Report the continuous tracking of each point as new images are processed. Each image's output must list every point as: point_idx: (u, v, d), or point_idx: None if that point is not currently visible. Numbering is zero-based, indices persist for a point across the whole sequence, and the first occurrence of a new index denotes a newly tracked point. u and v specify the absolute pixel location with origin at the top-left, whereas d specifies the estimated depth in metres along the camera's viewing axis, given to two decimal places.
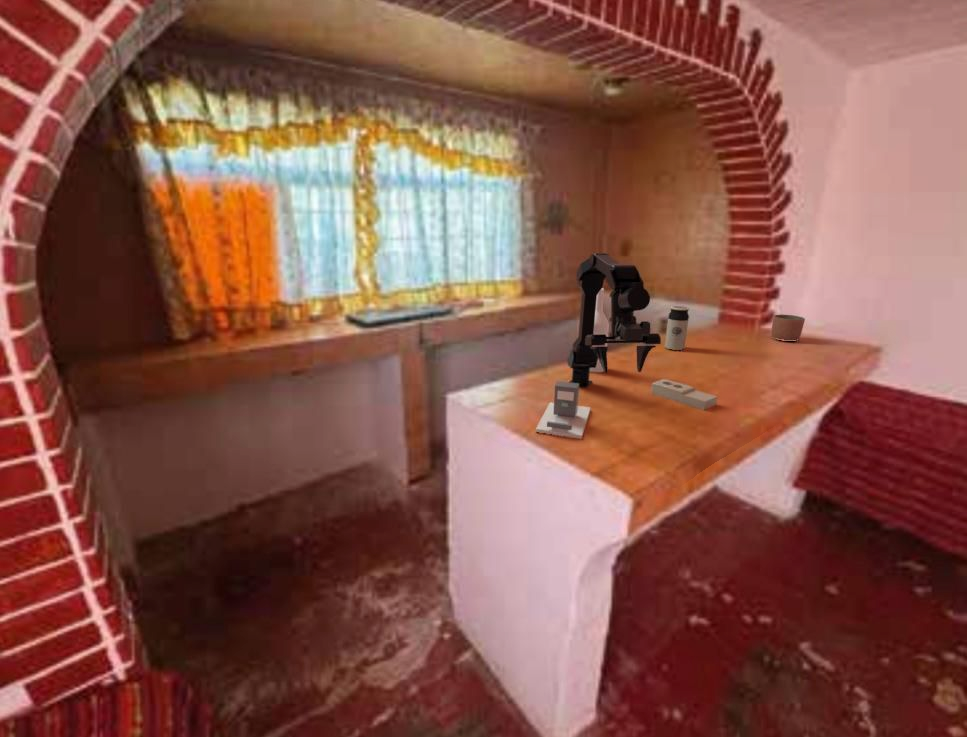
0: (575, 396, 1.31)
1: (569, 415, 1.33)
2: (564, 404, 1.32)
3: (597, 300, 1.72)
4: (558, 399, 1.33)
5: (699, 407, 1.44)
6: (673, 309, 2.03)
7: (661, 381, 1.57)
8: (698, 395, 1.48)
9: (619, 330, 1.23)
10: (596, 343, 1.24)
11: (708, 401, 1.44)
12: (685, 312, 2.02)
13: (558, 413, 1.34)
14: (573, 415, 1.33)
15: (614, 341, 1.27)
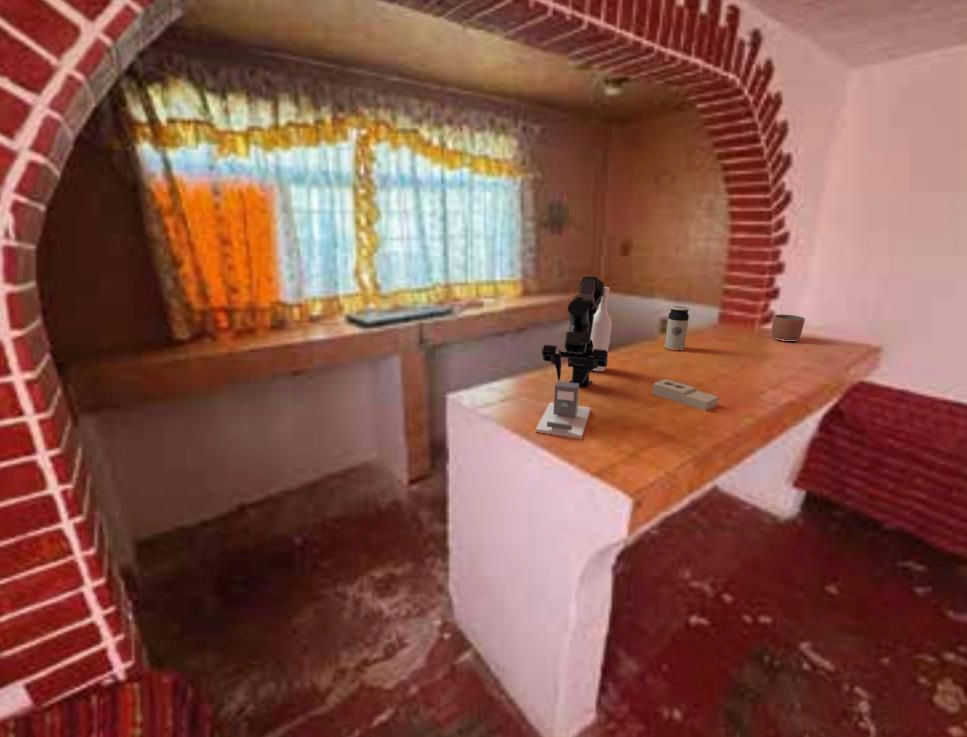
0: (575, 396, 1.31)
1: (569, 415, 1.33)
2: (564, 404, 1.32)
3: (602, 298, 1.73)
4: (558, 399, 1.33)
5: (700, 408, 1.44)
6: (673, 309, 2.03)
7: (662, 381, 1.57)
8: (699, 396, 1.47)
9: None
10: (545, 349, 1.41)
11: (709, 401, 1.44)
12: (685, 312, 2.02)
13: (558, 413, 1.34)
14: (573, 415, 1.33)
15: (566, 354, 1.42)
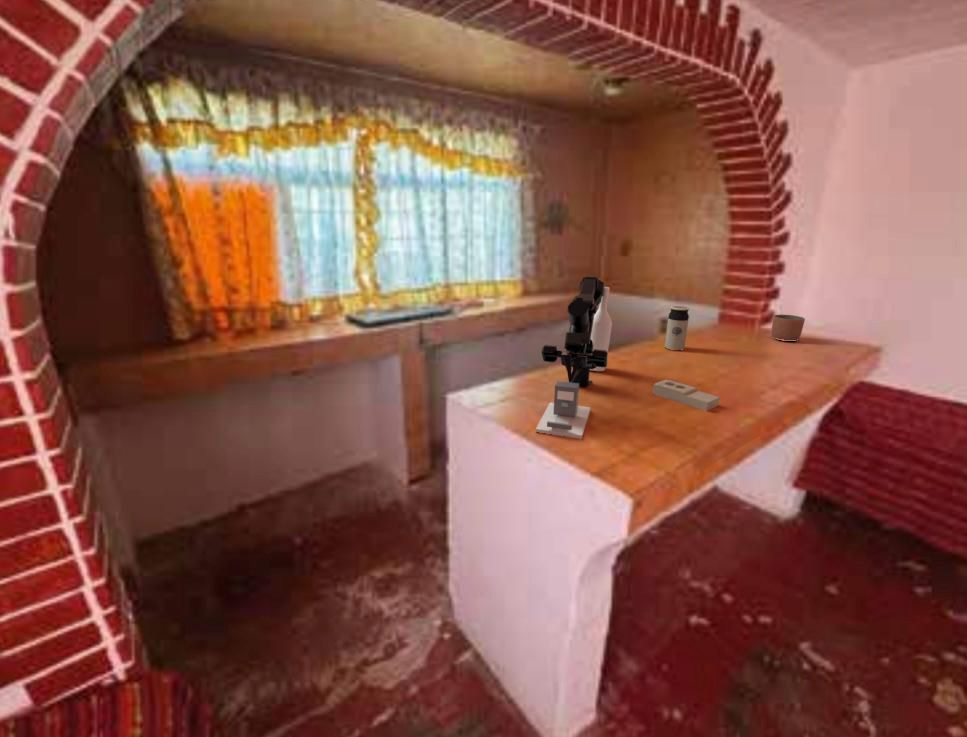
0: (575, 396, 1.31)
1: (569, 415, 1.33)
2: (564, 404, 1.32)
3: (602, 298, 1.73)
4: (558, 399, 1.33)
5: (701, 408, 1.44)
6: (673, 309, 2.03)
7: (663, 382, 1.56)
8: (700, 396, 1.47)
9: None
10: (545, 350, 1.41)
11: (710, 402, 1.44)
12: (685, 312, 2.02)
13: (558, 413, 1.34)
14: (573, 415, 1.33)
15: None
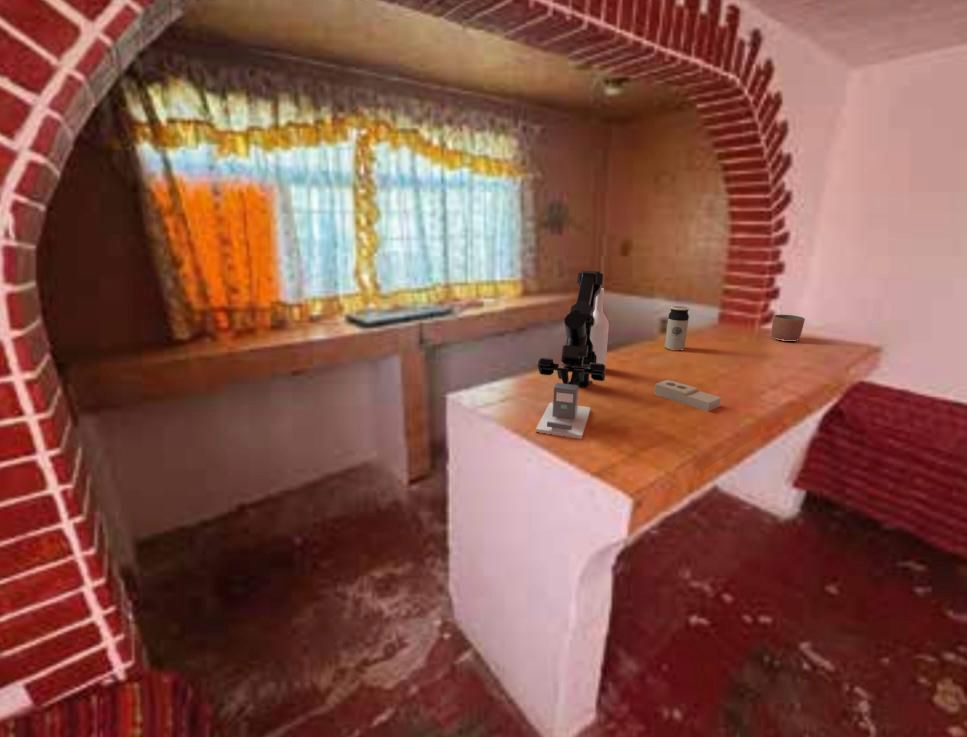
0: (574, 398, 1.30)
1: (568, 417, 1.32)
2: (563, 406, 1.31)
3: (597, 300, 1.72)
4: (557, 400, 1.31)
5: (703, 408, 1.44)
6: (673, 309, 2.03)
7: (664, 382, 1.56)
8: (702, 396, 1.47)
9: None
10: (541, 363, 1.38)
11: (712, 402, 1.43)
12: (685, 312, 2.02)
13: (557, 415, 1.33)
14: (572, 417, 1.32)
15: None
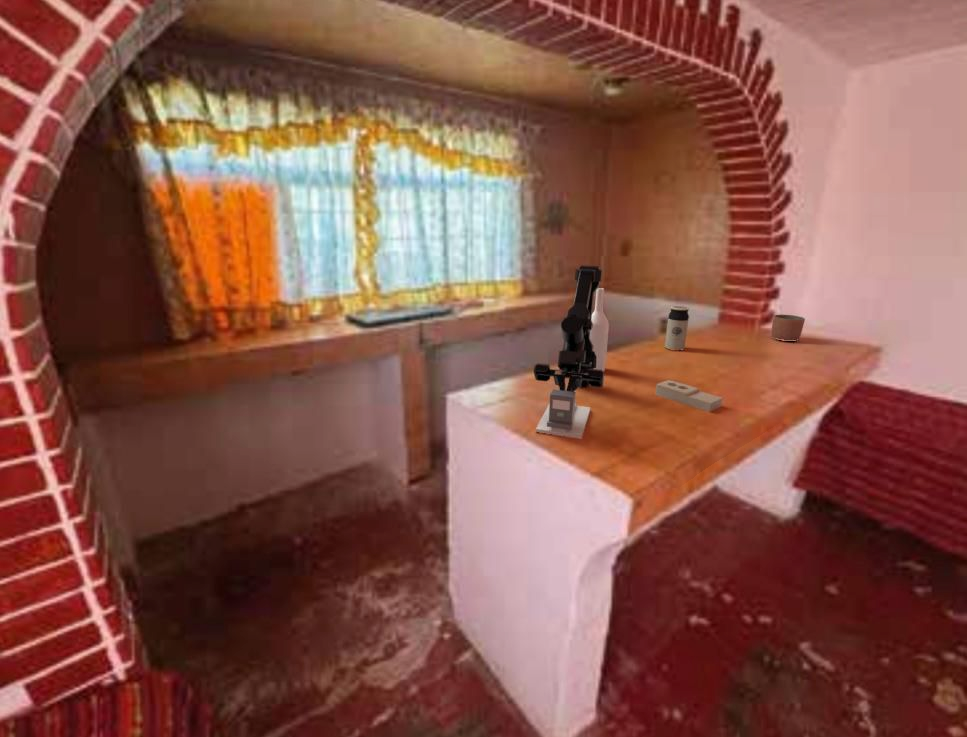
0: (571, 405, 1.25)
1: None
2: (560, 414, 1.26)
3: (597, 300, 1.72)
4: (553, 408, 1.26)
5: (704, 409, 1.43)
6: (673, 309, 2.03)
7: (666, 382, 1.56)
8: (703, 397, 1.46)
9: None
10: (537, 369, 1.33)
11: (713, 403, 1.43)
12: (685, 312, 2.02)
13: None
14: None
15: None
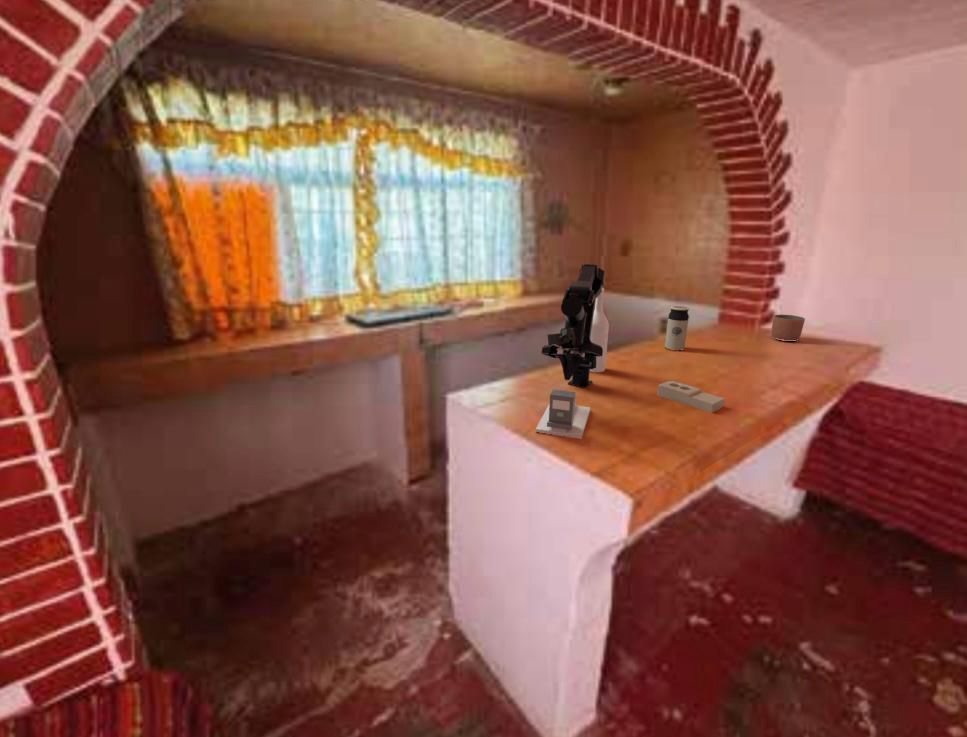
0: (571, 405, 1.25)
1: None
2: (560, 414, 1.26)
3: (597, 300, 1.72)
4: (553, 408, 1.26)
5: (707, 409, 1.43)
6: (673, 309, 2.03)
7: (668, 383, 1.55)
8: (705, 397, 1.46)
9: None
10: (543, 351, 1.44)
11: (716, 403, 1.42)
12: (685, 312, 2.02)
13: None
14: None
15: None
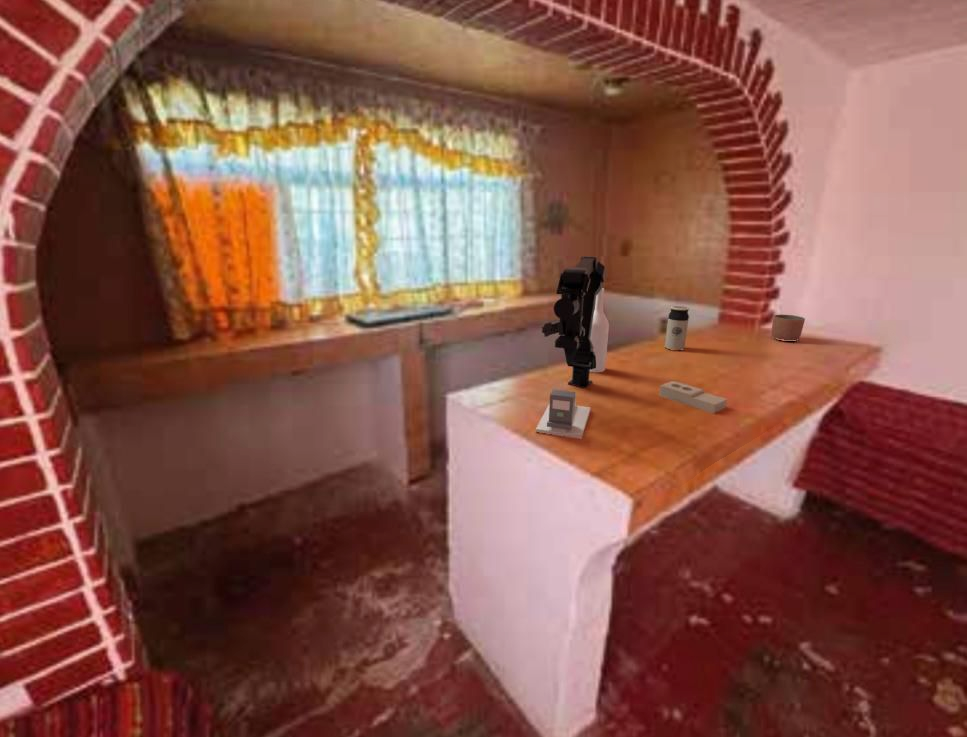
0: (571, 405, 1.25)
1: None
2: (560, 414, 1.26)
3: (597, 300, 1.72)
4: (553, 408, 1.26)
5: (709, 410, 1.42)
6: (673, 309, 2.03)
7: (669, 383, 1.55)
8: (707, 398, 1.45)
9: None
10: None
11: (718, 404, 1.42)
12: (685, 312, 2.02)
13: None
14: None
15: None
